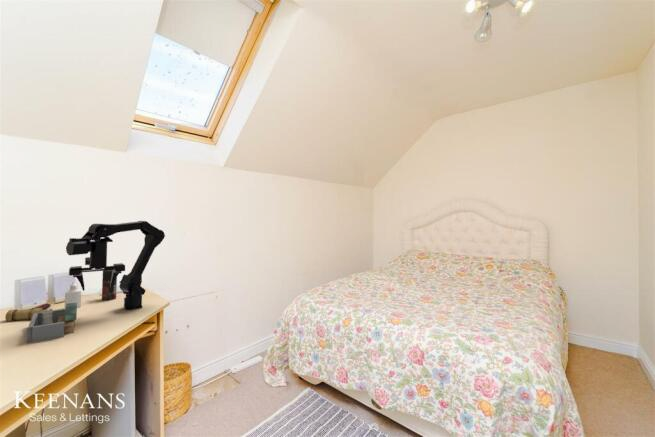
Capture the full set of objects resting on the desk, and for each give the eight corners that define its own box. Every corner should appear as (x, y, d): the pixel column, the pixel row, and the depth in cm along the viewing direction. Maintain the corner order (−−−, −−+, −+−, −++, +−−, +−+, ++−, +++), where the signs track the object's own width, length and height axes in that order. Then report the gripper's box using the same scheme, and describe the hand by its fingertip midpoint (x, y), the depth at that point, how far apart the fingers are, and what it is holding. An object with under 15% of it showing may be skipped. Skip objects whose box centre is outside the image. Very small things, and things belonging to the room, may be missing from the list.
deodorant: (104, 297, 152) (105, 269, 152) (117, 297, 154) (118, 268, 154) (99, 300, 146) (100, 271, 146) (113, 300, 148) (114, 271, 148)
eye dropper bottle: (67, 306, 135) (67, 281, 135) (82, 305, 138) (83, 280, 138) (63, 309, 131) (63, 283, 131) (78, 308, 134) (79, 282, 134)
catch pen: (65, 320, 119) (65, 308, 119) (63, 336, 104) (64, 322, 104) (33, 325, 113) (34, 312, 113) (26, 343, 98) (27, 328, 98)
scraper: (76, 321, 119) (77, 299, 119) (75, 332, 108) (76, 308, 108) (58, 324, 116) (59, 301, 116) (55, 335, 105) (56, 311, 105)
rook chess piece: (45, 328, 110) (46, 307, 110) (58, 328, 111) (59, 307, 111) (35, 333, 106) (36, 311, 106) (48, 333, 106) (49, 311, 106)
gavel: (37, 300, 135) (63, 298, 138) (36, 310, 134) (63, 308, 138) (5, 311, 115) (37, 309, 118) (4, 323, 115) (36, 320, 118)
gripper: (122, 249, 137) (121, 282, 137) (70, 251, 124) (69, 288, 125) (125, 252, 128) (124, 287, 128) (69, 255, 116) (68, 293, 116)
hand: (97, 289), depth 125 cm, fingers open, 9 cm apart
